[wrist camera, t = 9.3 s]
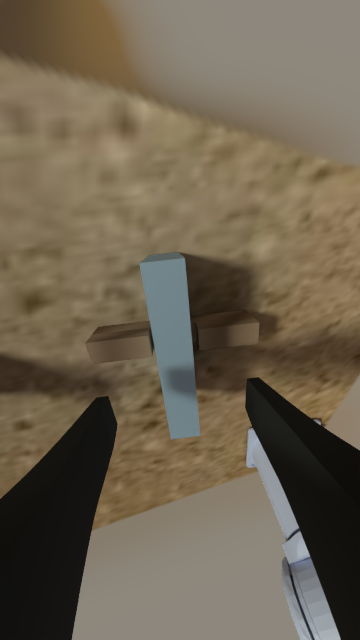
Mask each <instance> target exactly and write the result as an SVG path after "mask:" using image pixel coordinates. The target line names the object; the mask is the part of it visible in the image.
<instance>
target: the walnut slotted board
mask: <svg viewBox="0 0 360 640" xmlns="http://www.w3.org/2000/svg"><path fill="white" fill-rule="evenodd" d="M190 323H191V335H192V343H193V342H197V344H198V347H199V350H200V351H203V350H211V349H219V348H227V347H235V346H243V345H251V344H258V337H259V324H260V322H259V321H258V320H256V319H255V318H254V317H253V316H252V315H251V314H249V313H248V312H247V311H246V310H238V311H230V312H221V313H213V314H204V315H196V316H190ZM85 344H86V347H87V350H88V353H89V356H90V359H91V361H92V364H97V363H105V362H113V361H121V360H129V359H138V358H146V357H152V355H153V347H154V341H153V336H152V330H151V325H150V321H145V322H137V323H129V324H120V325H112V326H103V327H98V328H97V329H96V330H95V332H94V333H93V334H92V335H91V337H90V338H89V339H88V340H87V342H86V343H85Z"/></svg>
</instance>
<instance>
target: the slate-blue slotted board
mask: <svg viewBox="0 0 360 640" xmlns="http://www.w3.org/2000/svg"><path fill="white" fill-rule="evenodd" d="M140 269H141V275H142V280H143V286H144V291H145V297H146V302H147V308H148V313H149V319H150V325H151V330H152V336H153V341H154V347H155V352H156V358H157V363H158V369H159V375H160V380H161V386H162V391H163V397H164V402H165V408H166V413H167V419H168V425H169V430H170V436H171V439H178V438H185V437H193V436H200V429H199V417H198V405H197V393H196V382H195V370H194V358H193V346H192V335H191V323H190V311H189V299H188V288H187V276H186V264H185V258H184V257H183V256H182V255H181V254H180V253H179V252H175V253H166V254H157V255H149V256H148V257H146V258H145V259H144V260H143V261H141V262H140Z"/></svg>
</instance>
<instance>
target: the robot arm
mask: <svg viewBox="0 0 360 640" xmlns="http://www.w3.org/2000/svg"><path fill="white" fill-rule="evenodd" d="M245 408H246V411H247V414H248V416H249V419H250V422H251V424H252V427H253V428H250V429H249V430H248V442H247V456H246V465H247V467H249V468H251V467H257V469H258V472H259V474H260V477H261V479H262V482H263V484H264V487H265V489H266V492H267V494H268V497H269V499H270V502H271V504H272V507H273V509H274V512H275V514H276V517H277V519H278V522H279V524H280V527H281V529H282V532H283V534H284V537H285V539H286V542H284V543H282V547H283V549H284V552H285V554H286V557H284V558H283V560H282V582H283V587H284V592H285V596H286V599H287V603H288V606H289V609H290V613H291V616H292V619H293V621H294V624H295V627H296V630H297V632H298V635H299V637H300V640H360V450H358V449H356V448H355V447H353V446H352V445H350V444H348V443H347V442H345V441H343V440H342V439H340V438H339V437H337V436H336V435H334V434H333V433H331V432H330V431H328V430H327V429H325V428H324V427H322V426H321V422H320V421H319V420H318V419H315V420H312V419H311V418H310V417H308V416H307V415H305V414H304V413H303V412H301V411H300V410H299V409H297V408H296V407H295V406H294V405H292V404H291V403H290V402H288V401H287V400H286V399H285V398H283V397H282V396H281V395H280V394H278V393H277V392H276V391H275V390H273V389H272V388H271V387H270V386H269V385H267V384H266V383H265V382H264V381H262V380H261V379H260V378H259V377H257V378H249V379H247V385H246V404H245ZM116 431H117V421H116V418H115V415H114V412H113V409H112V406H111V403H110V400H109V397H108V396H106V397H98V398H96V399H95V400H94V401H93V402H92V403H91V404H90V405H89V407H88V408H87V409H86V410H85V411H84V412H83V414H82V415H81V416H80V417H79V418H78V419H77V421H76V422H75V423H74V424H73V425H72V426H71V428H70V429H69V430H68V431H67V432H66V433H65V434H64V435H63V437H62V438H61V439H60V440H59V441H58V442H57V443H56V444H55V445H54V446H53V447H52V448H51V450H50V451H49V452H48V453H47V454H46V455H45V456H44V457H43V458H42V459H41V460H40V461H39V462H38V463H37V464H36V465H35V466H34V467H33V468H32V469H31V470H30V471H29V472H28V473H27V474H26V475H25V476H24V477H23V478H22V479H21V480H20V481H19V482H18V483H17V484H16V485H15V486H14V487H13V488H12V489H11V490H10V491H9V492H8V493H6V494H5V495H4V496H3V497H2V498H1V499H0V640H72V633H73V628H74V622H75V616H76V611H77V605H78V599H79V593H80V587H81V582H82V576H83V571H84V566H85V561H86V555H87V550H88V545H89V540H90V535H91V531H92V526H93V521H94V516H95V512H96V508H97V504H98V501H99V497H100V494H101V490H102V487H103V483H104V480H105V476H106V473H107V469H108V466H109V462H110V458H111V455H112V451H113V447H114V442H115V437H116Z"/></svg>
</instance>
